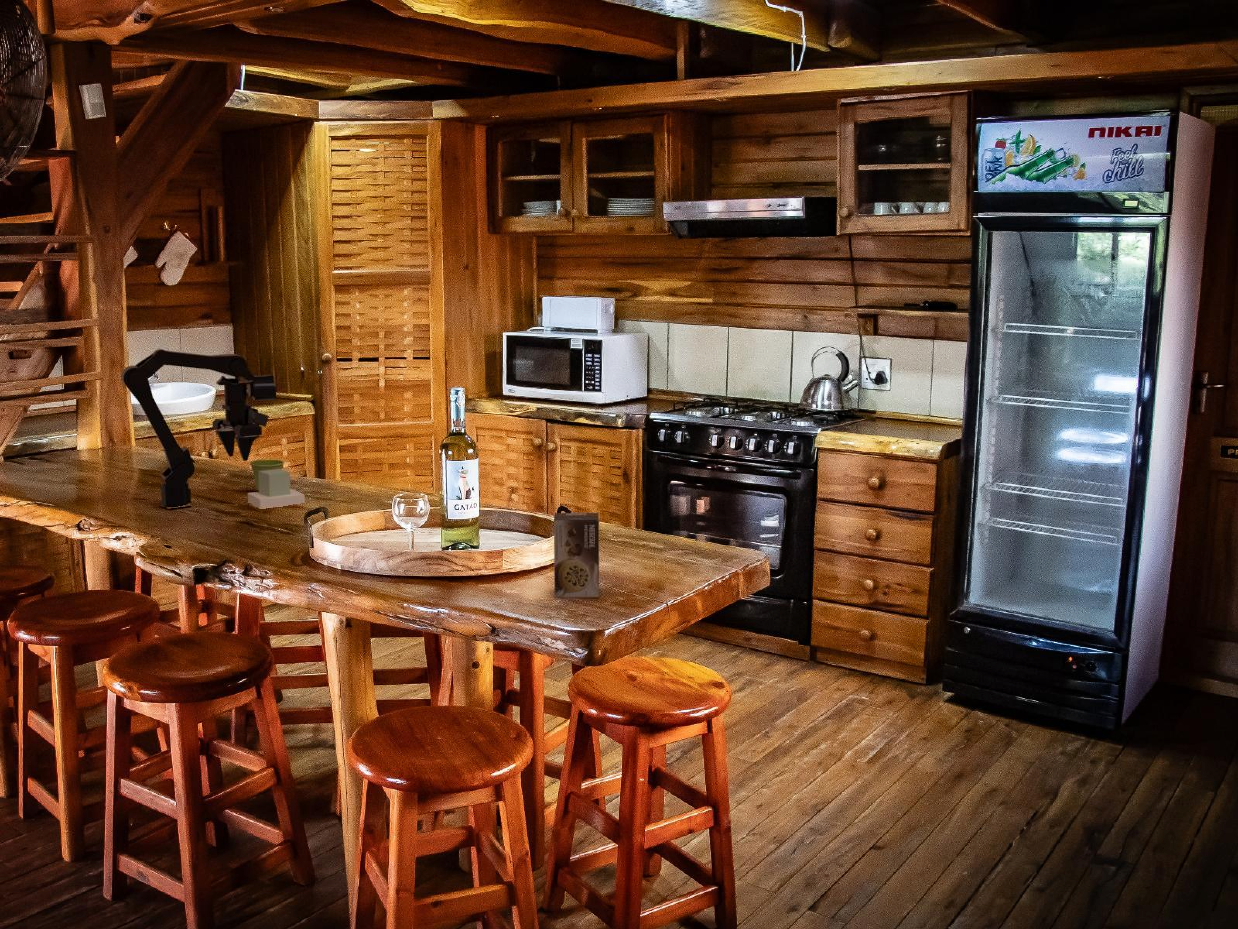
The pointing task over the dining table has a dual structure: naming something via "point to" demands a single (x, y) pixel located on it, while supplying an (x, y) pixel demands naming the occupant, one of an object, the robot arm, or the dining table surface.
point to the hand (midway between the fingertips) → (238, 458)
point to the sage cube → (274, 482)
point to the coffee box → (576, 555)
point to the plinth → (275, 499)
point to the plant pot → (264, 467)
